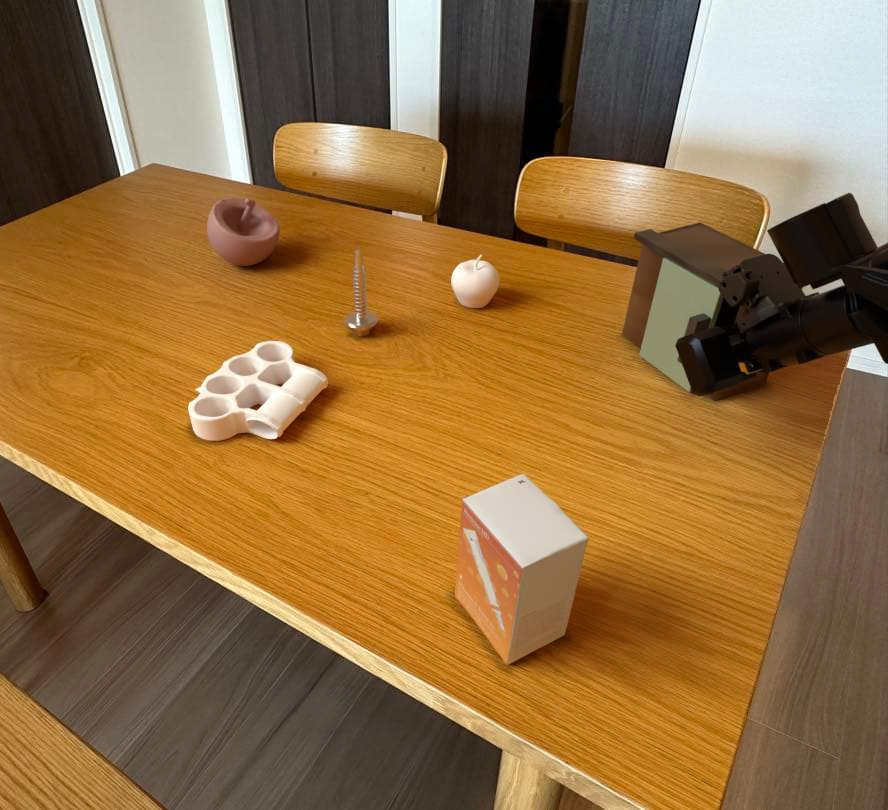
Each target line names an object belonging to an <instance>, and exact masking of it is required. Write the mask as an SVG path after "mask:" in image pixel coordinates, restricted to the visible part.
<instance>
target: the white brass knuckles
mask: <svg viewBox="0 0 888 810" xmlns="http://www.w3.org/2000/svg"><path fill="white" fill-rule="evenodd" d="M328 384H329V379H328V377H327V375H325V374H324V373H323V372H321V370H319V369H316V368H314V367H310V366H308V365H305V364H302V363H298V362H296V360H295V351H294V349H293V348H292V346H291V345H289V344H288V343H286V342H283V341H280V340H267V341H262V342H259V343H257V344H255V346H254V347H253V348H252V349H251V350H248V352H245V353H242V354H238V355H234V356H232V357H230V358H229V359H226V360H225V361H223V363H222V366H221V367H220V368H218V370H217V371H215V372H214V373H211V374H209V375H207V376H206V377H205V379H204V381H203V382H202V384H201V385H200V386H199V387H197V388H195V389H194V390H195V391H196V392H198V393H199V395H197V397H196V398H194V399H193V400H191V401H190V402H189V403H188V407H187V409H188V410H187V411H188V416H189V418H190V422H191V426H192V430H193V432H194V434H195V435H196V436H197V437H198V438H199V439H202V440H204V441H208V442H209V441H210V442H218V441H225V440H227V439H230V438H233V437H234V436H236V435H238V434H245V433H247V434H248V433H249V434H252V435H255V436H258V437H261V438H263V439H267V440H275V439H277V438H280V437H281V436H282V435H283V434H284V431H286V429H287V428H288V427H289V426H290V425H291V424H292V423H293V422H294V421H295V420H296V418H297V417H299V415H301V413H304V412H305V411H306V410H307V407H308V406H309V405H310V404H311V403H312V401H313V400H314V399H315V398H316V397H317V396H318V395H319V394H320V393H321V392H322V390H325V389H326V388H328ZM279 385H282V386H279ZM256 405H261V406H260V407H259V408H258V409H257V410H256V409H252V408H253V407H254V406H256Z"/></svg>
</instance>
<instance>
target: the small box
mask: <svg viewBox="0 0 888 810" xmlns="http://www.w3.org/2000/svg"><path fill="white" fill-rule="evenodd" d="M460 511H461V512H460V524H459V536H458V550H457V563H456V576H455V585H454V586H455V589H454V597H455V599H456V600H457V602H459V603H460V604H461V606H462V607H463V608H464V610H465V611H466V612H467V614H468V615H469V616H470V617H471V619H472V620H473V621H474V623H475V624H476V625H477V626H478V628H479V629H480V630H481V632H482V633H483V635H484V636H485V638H487V640H488V641H489V643H490V644H491V646H492V647H493V648H494V649H495V651H496V653H497V654H498V655H499V657H500V658H501V659H502V661H503V662H504V663H505V665H507V666H509V665H511V664H513V663H514V662H516V661H518V660H520V659H522V658H524V657H525V656H528V655H529V654H531V653H533V652H535V651H537V650H539V649H541V648H543V647H545V646H547V645H549V644H550V643H552V642H554V641H556V640H558V639H560V638H562V637H564V636H565V635H566V631H567V627H568V623H569V620H570V616H571V612H572V608H573V604H574V600H575V596H576V591H577V587H578V583H579V579H580V575H581V570H582V567H583V563H584V559H585V555H586V554H585V553H586V551H587V547H588V543H589V536H588V535H587V533H585V532H584V530H583V529H581V527H580V526H578V525H577V524H576V522H574V520H572V519H571V518H570V517H569V515H568V514H566V513H565V511H564V510H563V509H562V508H561V507H560V506H559V504H557V502H555V501H554V499H552V498H551V497H550V496H548V494H547V493H545V492H544V491H543V490H542V489H541V488H540V487H539V486H537V485H536V483H535V482H533V481H532V480H531V479H530V478H529V476H527V474H525V473H520V474H519V475H516V476H514V477H511V478H509V479H506V480H504V481H501V482H499V483H496V484H494V485H492V486H490V487H488V488H485V489H483V490H480V491H478V492H475V493H474V494H471V495H469V496H467V497H465V498H462V500H461V510H460Z"/></svg>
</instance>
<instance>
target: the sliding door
mask: <svg viewBox="0 0 888 810" xmlns="http://www.w3.org/2000/svg"><path fill="white" fill-rule="evenodd" d="M723 298H724V297H723V295H722V294H721V293H720V292H719V289H718V286H717V285H715V284H713V283H711V282H710V281H708V280H706V279H704V278H702V277H701V276H699V275H697V274H695V273H694V272H692V271H690V270H688V269H687V268H685V267H683V266H681V265H679V264H678V263H676V262H674V261H672V260H671V259H669V258H667V257H665V258H663V261H662V265H661V269H660V273H659V277H658V281H657V285H656V289H655V293H654V297H653V301H652V305H651V309H650V314H649V318H648V322H647V326H646V330H645V334H644V338H643V342H642V346H641V349H640V351H639V353H638V355H639V357H641V358H642V359H643V360H645V361H646V362H647V363H649V364H650V365H652V366H653V367H654V368H655V369H657V370H658V371H659V372H661V373H663V375H665V376H666V377H667V378H669V379H671V380H672V381H673V382H674V383H676V385H678V386H679V387H681V388H682V389H684V390H685V391H687V392H688V393H691V392H692V390H691V387H690V384H689V382H688V379H687V376H686V373H685V371H684V368H683V365H682V363H681V360H680V357H679V354H678V352H677V349H676V346H675V345H676V342H677V340H678V339H679V338H682V337H684V336H687V335H689V334H692V333H696V332H699V331H702V330H706V329H709V328H713V327H714V326H715V323H716V320H717V317H718V314H719V310H720V307H721V304H722V301H723Z"/></svg>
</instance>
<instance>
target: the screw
mask: <svg viewBox="0 0 888 810" xmlns="http://www.w3.org/2000/svg"><path fill="white" fill-rule="evenodd" d="M353 253H354V254H353V255H354V257H353V265H352V268H353V269H352V272H353V273H352V274H351V275H352V280H353V281H352V284H353V285H352V291H353V306H354V308H353V309H354V311H351V312H349V313H348V314H347V315H345V317H344V320H343V322H344V325H345V327H346V328H348V329H350V330H352V335H354V336H357V337H360V338H362V337H366V336H370V333H371V331H372V329H373V328H374V327H376V326H377V325H378V324H379V317H378V314H376V313H375V312H372V311H370V310H368V305H367V304H368V301H367V300H368V298H367V295H368V294H367V292H368V290H367V278H366V277H367V274H366V272H367V271H366V270H365V269H366V266H365V265H364V259H363V253H362V251H361V249H359V248H357V249H354V250H353Z"/></svg>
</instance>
